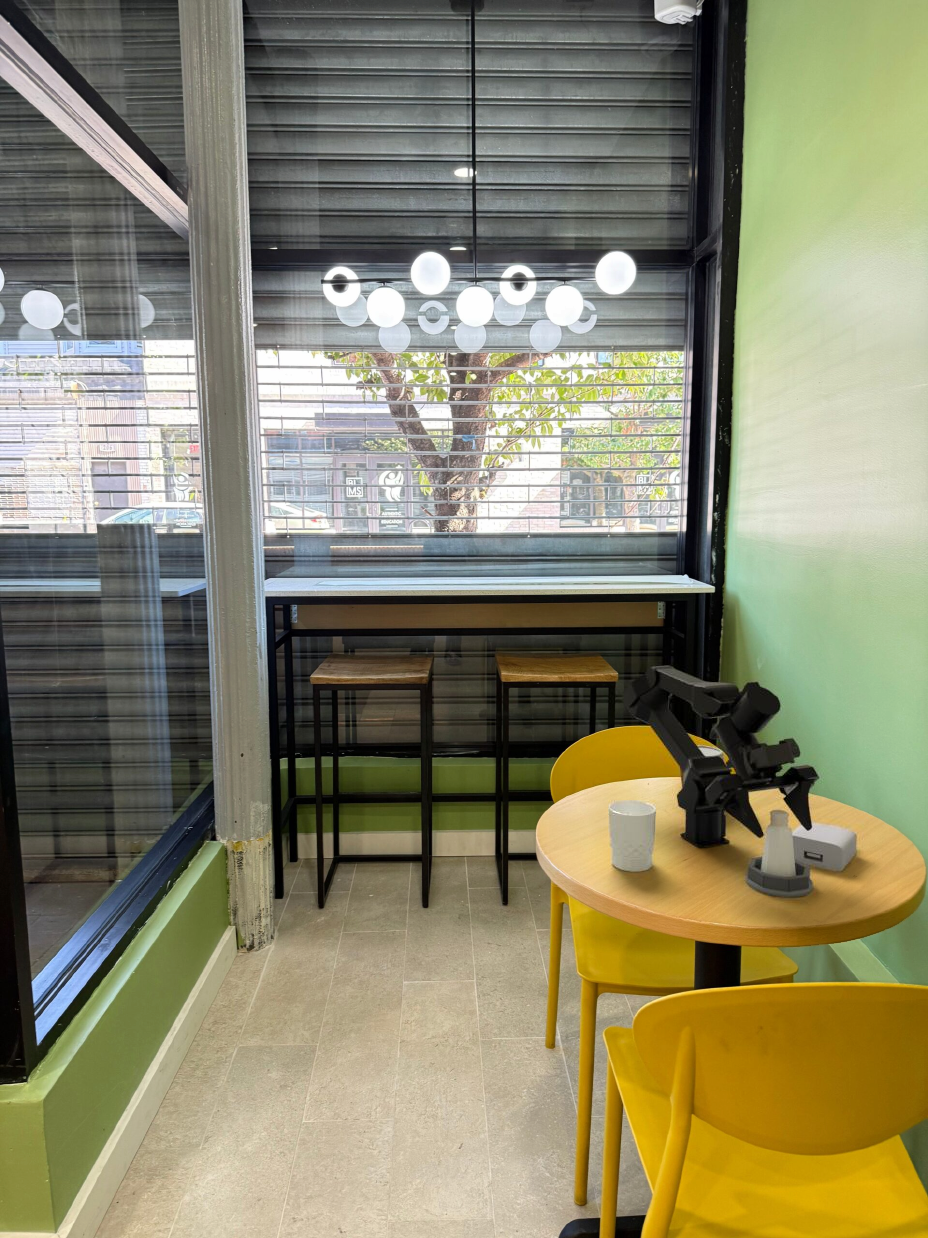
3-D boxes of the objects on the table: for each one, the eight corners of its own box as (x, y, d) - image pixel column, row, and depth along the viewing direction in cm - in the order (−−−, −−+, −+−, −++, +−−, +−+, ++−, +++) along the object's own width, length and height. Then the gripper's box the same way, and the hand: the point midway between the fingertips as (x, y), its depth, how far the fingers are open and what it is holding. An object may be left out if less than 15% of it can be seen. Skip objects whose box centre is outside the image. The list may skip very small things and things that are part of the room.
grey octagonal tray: (774, 901, 122) (774, 884, 122) (732, 876, 131) (733, 859, 131) (826, 892, 125) (827, 874, 125) (783, 867, 135) (783, 851, 134)
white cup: (626, 877, 132) (626, 818, 131) (599, 860, 139) (599, 804, 138) (665, 868, 135) (665, 811, 134) (637, 852, 142) (637, 797, 141)
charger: (865, 847, 144) (842, 874, 132) (811, 835, 150) (785, 860, 138) (865, 821, 143) (843, 846, 132) (812, 811, 149) (785, 834, 138)
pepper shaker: (803, 881, 127) (805, 814, 126) (778, 888, 125) (780, 819, 124) (777, 869, 132) (778, 804, 131) (752, 875, 130) (753, 809, 129)
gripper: (716, 727, 127) (761, 817, 117) (812, 717, 132) (862, 802, 123) (687, 762, 135) (727, 849, 125) (779, 752, 141) (823, 834, 131)
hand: (786, 833), depth 126 cm, fingers open, 9 cm apart
